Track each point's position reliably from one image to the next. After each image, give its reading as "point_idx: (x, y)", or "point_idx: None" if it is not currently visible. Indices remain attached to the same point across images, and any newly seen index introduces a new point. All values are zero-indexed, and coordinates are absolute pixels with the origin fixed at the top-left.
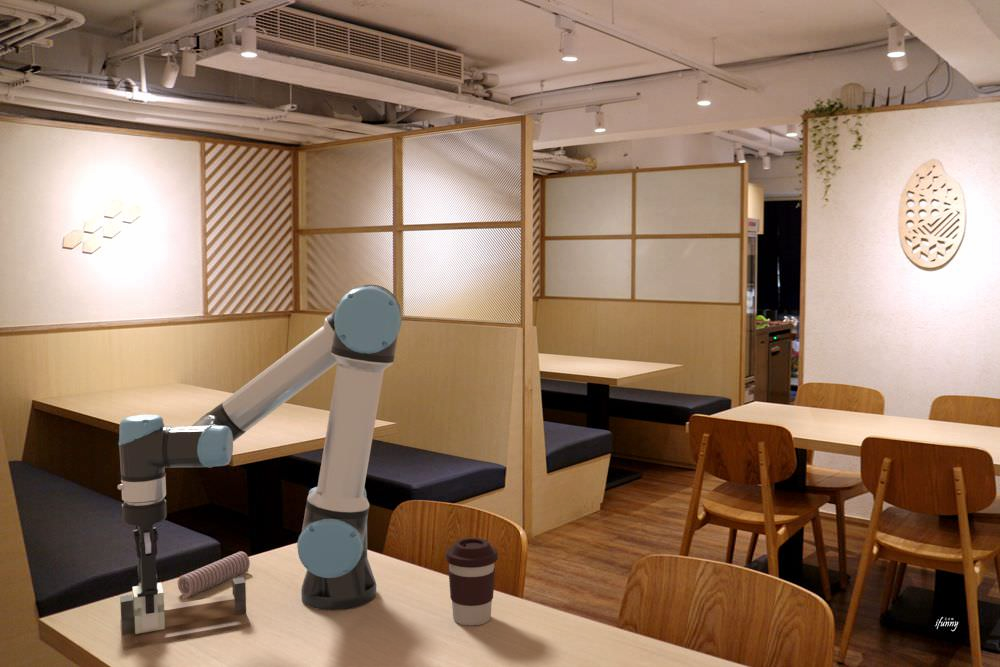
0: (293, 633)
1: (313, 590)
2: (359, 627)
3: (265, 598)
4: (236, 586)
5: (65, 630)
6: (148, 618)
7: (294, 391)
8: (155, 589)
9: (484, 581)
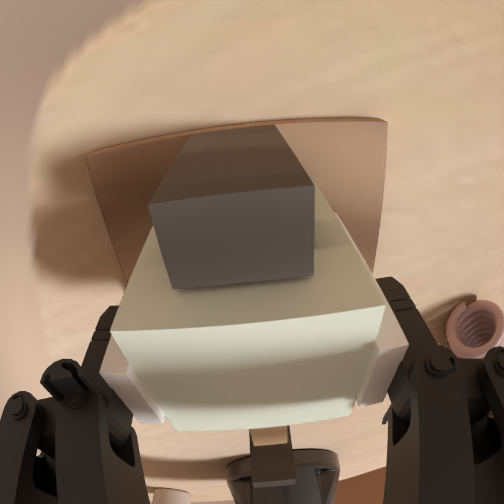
0: (154, 438)
1: None
2: (165, 466)
3: (336, 422)
4: (252, 477)
5: None
6: None
7: None
8: (44, 455)
9: None
